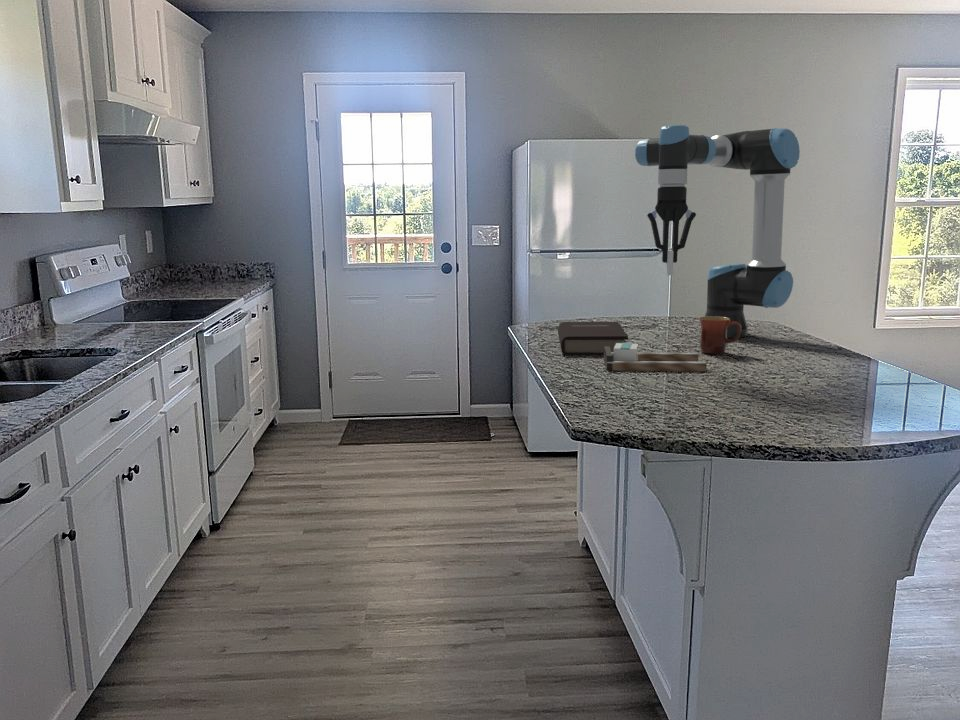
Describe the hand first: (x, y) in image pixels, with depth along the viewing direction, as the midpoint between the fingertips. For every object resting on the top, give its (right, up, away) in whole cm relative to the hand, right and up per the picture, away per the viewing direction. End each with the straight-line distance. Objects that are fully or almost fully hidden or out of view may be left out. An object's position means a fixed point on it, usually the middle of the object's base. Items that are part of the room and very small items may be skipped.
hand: (669, 274), depth 214 cm
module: (-11, -25, +3) cm, 27 cm away
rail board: (-4, -25, +1) cm, 25 cm away
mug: (+19, -21, +17) cm, 33 cm away
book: (-17, -19, +31) cm, 40 cm away
